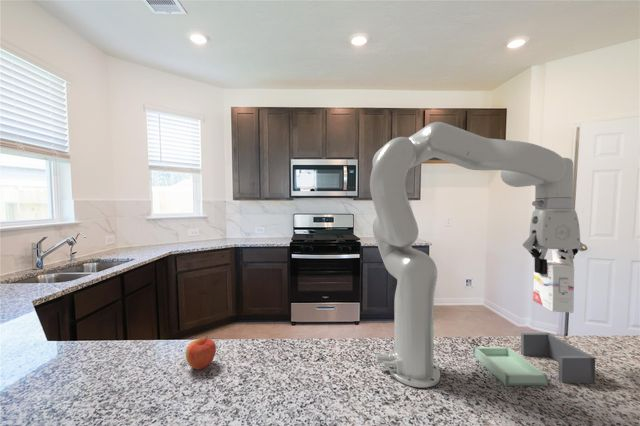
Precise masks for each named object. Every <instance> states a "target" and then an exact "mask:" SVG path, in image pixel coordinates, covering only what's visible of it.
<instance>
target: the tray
mask: <svg viewBox="0 0 640 426" xmlns="http://www.w3.org/2000/svg"><path fill="white" fill-rule="evenodd" d="M472 350H473V352H472V354H473V357H474V358H475V359H476V360H477V361H478V362H479V363H481V364H482V365H483V366H484V367H485V368H486V369H487V370H488V371H489V372H490V373H491V374H492V375H494V376H495V378H496V379H498V380H499V381H500V382H501V384H502V385H504V386H505V387H517V386H518V387H526V386H527V387H535V386H536V387H539V386H540V387H541V386H544V387H545V386H548V374H547V373H545V372H544V371H543V370H541V369H540V368H538V367H537V366H536V365H534V364H532V363H531V362H530V361H528V360H527V359H525V357H523V356H522V355H520V354H518V353H517V352H516V351H514V350H513V349H511V348H510V347H509V346H474V347H473V349H472Z"/></svg>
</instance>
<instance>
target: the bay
mask: <svg viewBox="0 0 640 426" xmlns="http://www.w3.org/2000/svg"><path fill="white" fill-rule="evenodd" d="M520 354H521V355H522V354H523V355H522V356H548V357H550V358H551V359H553V360H554V361H556V362H557V363H558V375H557V376H558V377H557V378H558V381H559V382H560V383H562V384H564V383H565V384H568V383H569V384H570V383H571V384H572V383H574V384H576V383H580V384H581V383H583V384H586V383H591V384H592V383H596V357H594V356H592V355H591V354H589V353H587V352H585V351H583V350H581V349H579V348H578V347H576V346H574V345H571V344H570V343H568V342H566V341H565V340H562V339H560V338H558V337H557V336H555V335H553V334H551V333H548V332H525V333H524V332H520Z"/></svg>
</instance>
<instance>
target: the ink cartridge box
mask: <svg viewBox="0 0 640 426" xmlns="http://www.w3.org/2000/svg"><path fill="white" fill-rule="evenodd" d="M561 255H562V256H563V257H565V258H566V259H561V258H559V257H561ZM551 256H552V260H547V274H540V273H536V272H535V271H534V270H533V289H532V290H533V292H532V293H533V294H532V295H533V296H532V297H533V298H532V301H533V302H535V303H536V304H539V305H540V306H542V307H544V308H545V309H548V310H549V311H551V312H554V313H555V312H556V313H569V314H572V313H574V307H575V306H574V302H575V300H574V299H575V298H574V297H575V294H574V293H575V264H574V259H573V255H572V254H568V253H564V252H560V251H558V250H556V249H551Z"/></svg>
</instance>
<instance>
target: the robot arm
mask: <svg viewBox="0 0 640 426" xmlns="http://www.w3.org/2000/svg"><path fill="white" fill-rule="evenodd" d="M433 158H437V159H439V160H442V161H445V162H448V163H451V164H453V165H456V166H459V167H462V168H464V169H467V170H472V171H484V172H485V171H500V178H501V181H502V182H503V183H504V184H505V185H507V186H510V187H512V188H513V187H514V188H521V187H522V188H525V187H531V186H534V188H535V191H534V193H535V194H534V197H535V198H534V199H535V200H534V201H532V203H531V205H532V206H533V207H534V210H533V211H532V214H531V218H530V224H529V237H528V238H527V239H526V240H525V241H524V242H523V244H522V247H524V248H525V250H527V251H528V253H529V254H530V255H531V256H532V258H533V259H534V260H533V272H534V271H535V272H536V273H540V274H547V258H545V257H546V256H547V255H546V254H547V252H548V250H557V251H560V252H564V253H568V254H572V255H573V260H574V259H575V256H576V254H578V253H579V251H580V250H582V248H583V247H584V244H583V243H582V242H581V230H580V229H581V228H580V223H579V217H578V213H577V211H576V210H574V161H573V159H571V158H569V157H563V156H561V155H560V154H559V153H558V152H556V151H554V150H551V149H549V148H546V147H543V146H541V145H537V144H535V143H531V142H526V141H520V140H519V141H518V140H509V139H500V138H499V139H498V138H489V137H488V138H487V137H484V136H482V135H479V134H476V133H473V132H470V131H468V130H465V129H463V128H460V127H458V126H454V125H452V124H449V123H446V122H442V121H433V122H430V123H429V124H427V125H425V126H424V127H422V128H421V129H420V130H419V131H416V132H415V133H413V134H412V135H410V136H408V137H406V136H397V137H395V138H392V139H390V140H389V141H388V142H386V143H385V144H384V145H383V146H382V147H381V148H379V150H377V151H376V152H375V153H374V156H373V158H372V169H371V173H370V177H369V189H370V190H369V191H370V195H371V199H372V203H373V206H374V210H375V212H376V217H375V218H374V220H373V223H372V231H373V232H372V233H373V236H374V240H375V243H376V245H377V247H378V251H379V254H380V256H381V259H382V261H383V264H384V267H385V269H386V270H387V272H388V273H389V274H390V275H391V276H392V277H394V278H395V279H396V286H395V287H396V288H395V292H394V303H393V305H394V306H393V307H394V308H393V309H394V317H393V318H394V320H393V321H394V325H393V326H394V328H393V329H394V334H393V335H394V339H393V340H394V348H391V349H390V352H389V353H387V354H383V353H382V354H380V353H379V354H376V355H375V360H376V363H377V364H378V363H379V364H382V365H383V367H384V368H388V371H389V375H390V374H391V376H392V377H393V378H394V379H396V380H397V381H398V382H400V383H402V384H404V385H406V386H410V387H413V388H414V387H415V388H430V387H431V388H432V387H434V386H436V385H438V384H439V382H440V381H441V371H440V370H439V369H440V368H438V366H437V365H436V364H434V357H435V355H434V353H435V352H434V351H435V350H434V349H435V347H434V345H435V343H434V333H435V331H434V329H435V328H434V326H435V325H434V323H435V322H434V320H435V319H434V315H435V314H434V310H435V309H434V304H435V303H434V302H435V299H434V298H435V291H436V285H437V281H438V269H437V265H436V263H435V261H434V259H432V257H431V256H430V255H429V254H427V253H425V252H424V251H421V250H418V249H416V248H413V246H412V245H413V244H414V243H416V241H417V240H418V237H419V227H418V223H417V219H416V218H415V215H414V212H413V209H412V205H411V203H410V201H409V198H408V193H407V191H406V179H407V174H408V171H409V170H410V169H412V168H415V167H416V166H418V165H420V164H422V163H425V162H426V161H429V160H430V159H433ZM559 258H561V259H566V258H565V257H563V256H562V255H561V256H559Z"/></svg>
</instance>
